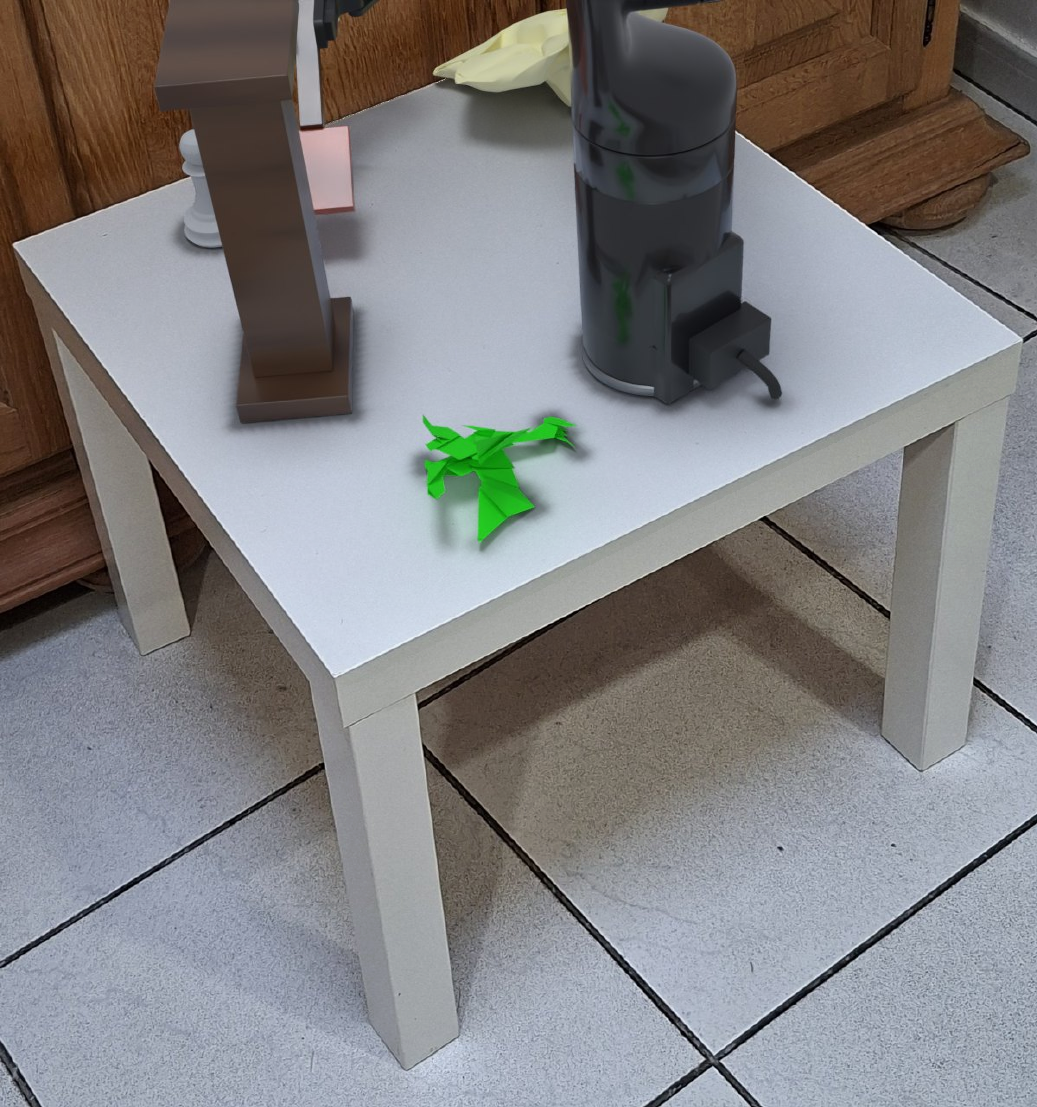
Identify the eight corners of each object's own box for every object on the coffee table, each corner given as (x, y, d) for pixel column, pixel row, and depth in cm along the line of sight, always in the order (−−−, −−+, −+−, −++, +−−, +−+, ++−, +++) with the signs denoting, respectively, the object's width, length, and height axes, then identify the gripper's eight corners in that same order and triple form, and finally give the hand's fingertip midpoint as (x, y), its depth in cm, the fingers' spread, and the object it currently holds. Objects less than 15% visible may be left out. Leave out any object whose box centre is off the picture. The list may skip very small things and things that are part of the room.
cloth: (427, 57, 131) (455, 129, 134) (438, 97, 114) (470, 179, 117) (687, -50, 130) (710, 25, 132) (737, -24, 113) (763, 61, 116)
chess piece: (196, 208, 118) (171, 111, 112) (258, 211, 117) (237, 113, 112) (176, 248, 115) (150, 149, 109) (241, 250, 114) (218, 152, 108)
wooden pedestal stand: (249, 322, 109) (170, -8, 91) (354, 313, 108) (295, -19, 91) (240, 423, 102) (153, 86, 85) (351, 414, 102) (287, 74, 84)
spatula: (268, -20, 114) (265, -30, 113) (339, -26, 114) (337, -36, 113) (281, 218, 110) (278, 211, 109) (355, 211, 110) (352, 204, 109)
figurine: (435, 459, 102) (581, 464, 101) (401, 547, 92) (564, 554, 91) (431, 366, 99) (581, 370, 98) (396, 446, 89) (564, 452, 88)
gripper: (211, -122, 120) (191, -5, 108) (397, -139, 120) (398, -23, 108) (231, -26, 125) (214, 96, 113) (408, -42, 125) (411, 78, 113)
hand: (304, 37), depth 111 cm, fingers closed on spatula, 1 cm apart
